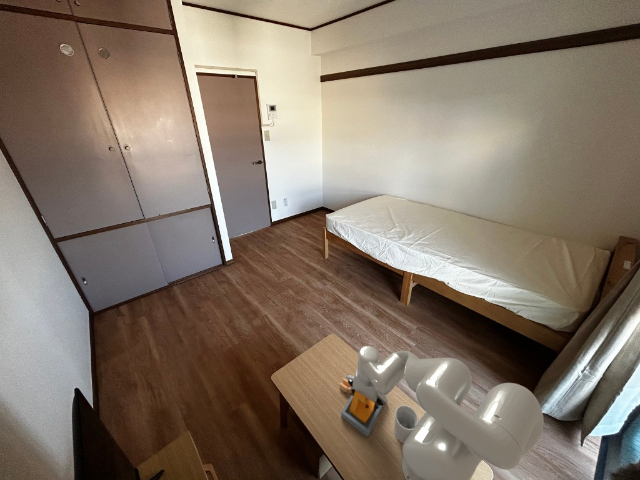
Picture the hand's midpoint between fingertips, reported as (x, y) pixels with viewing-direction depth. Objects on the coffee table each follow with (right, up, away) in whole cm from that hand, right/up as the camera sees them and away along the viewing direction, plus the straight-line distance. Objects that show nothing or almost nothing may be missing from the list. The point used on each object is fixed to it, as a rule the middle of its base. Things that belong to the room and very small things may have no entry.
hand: (364, 399), depth 99 cm
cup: (+14, -10, -4) cm, 17 cm away
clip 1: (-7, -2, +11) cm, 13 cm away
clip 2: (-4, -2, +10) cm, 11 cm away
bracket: (0, -5, +3) cm, 6 cm away
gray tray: (0, -6, +3) cm, 7 cm away
